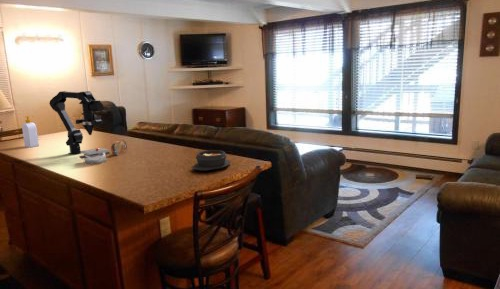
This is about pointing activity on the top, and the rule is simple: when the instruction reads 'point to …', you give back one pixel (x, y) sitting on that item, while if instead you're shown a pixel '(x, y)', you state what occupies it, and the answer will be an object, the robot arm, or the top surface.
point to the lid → (94, 151)
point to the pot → (95, 158)
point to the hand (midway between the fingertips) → (90, 135)
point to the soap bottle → (30, 134)
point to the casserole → (211, 160)
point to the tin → (119, 147)
